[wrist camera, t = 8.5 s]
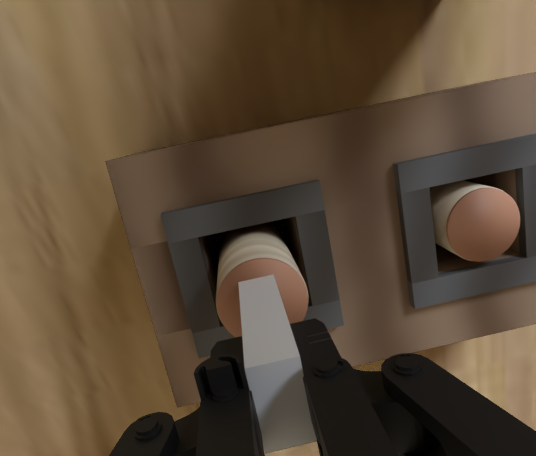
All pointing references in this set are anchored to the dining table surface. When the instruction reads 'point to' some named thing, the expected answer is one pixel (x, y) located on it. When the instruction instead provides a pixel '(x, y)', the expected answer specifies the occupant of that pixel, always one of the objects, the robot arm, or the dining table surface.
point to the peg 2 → (473, 219)
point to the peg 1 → (257, 272)
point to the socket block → (341, 222)
